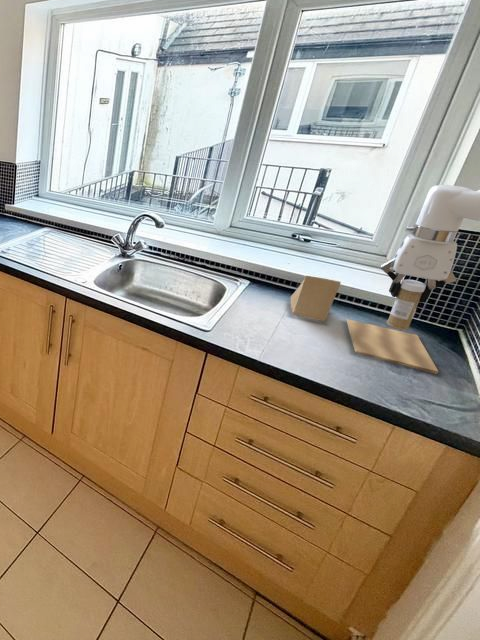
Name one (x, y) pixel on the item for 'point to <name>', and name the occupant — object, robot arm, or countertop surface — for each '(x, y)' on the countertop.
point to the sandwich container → (314, 297)
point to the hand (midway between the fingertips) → (406, 297)
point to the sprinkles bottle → (405, 304)
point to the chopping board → (390, 346)
